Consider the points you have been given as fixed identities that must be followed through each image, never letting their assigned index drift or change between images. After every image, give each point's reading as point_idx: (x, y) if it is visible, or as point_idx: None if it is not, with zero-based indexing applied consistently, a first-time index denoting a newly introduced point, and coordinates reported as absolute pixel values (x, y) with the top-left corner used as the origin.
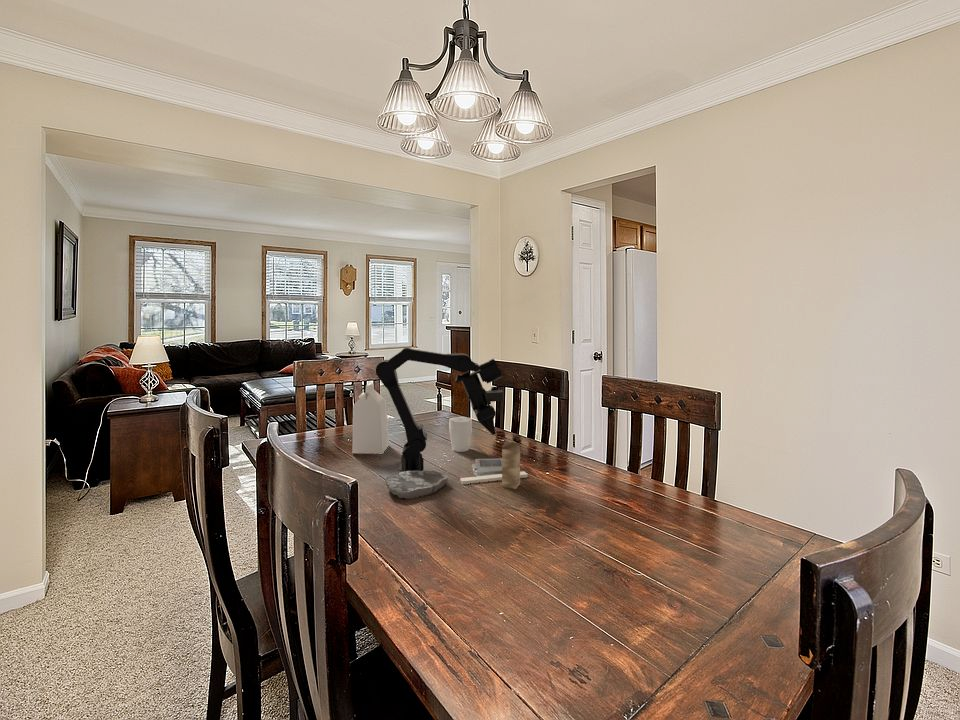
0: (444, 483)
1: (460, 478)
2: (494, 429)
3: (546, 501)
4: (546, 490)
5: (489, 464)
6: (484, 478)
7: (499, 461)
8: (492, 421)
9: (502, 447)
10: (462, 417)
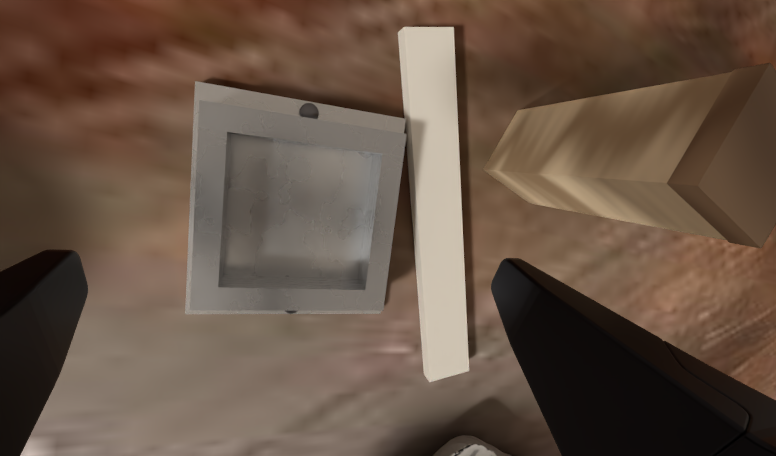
0: (481, 440)
1: (433, 379)
2: (577, 298)
3: (689, 71)
4: (611, 18)
5: (226, 208)
6: (460, 272)
7: (227, 139)
8: (764, 413)
9: (746, 241)
10: None
